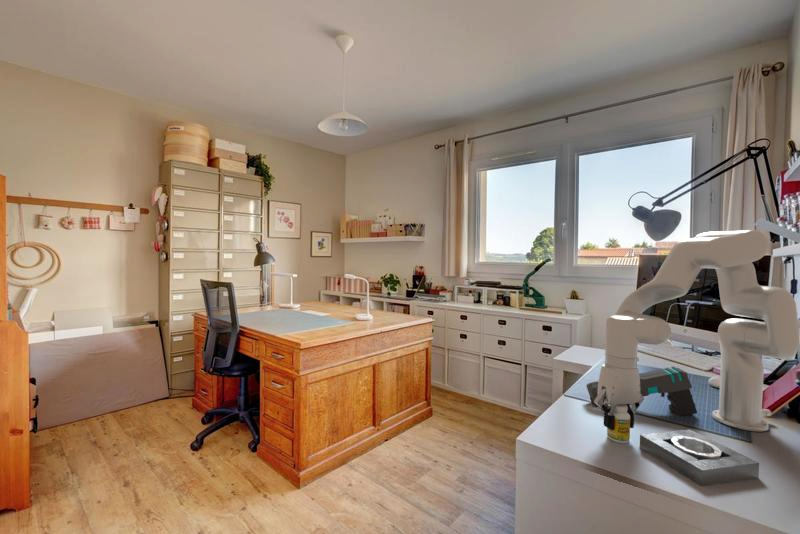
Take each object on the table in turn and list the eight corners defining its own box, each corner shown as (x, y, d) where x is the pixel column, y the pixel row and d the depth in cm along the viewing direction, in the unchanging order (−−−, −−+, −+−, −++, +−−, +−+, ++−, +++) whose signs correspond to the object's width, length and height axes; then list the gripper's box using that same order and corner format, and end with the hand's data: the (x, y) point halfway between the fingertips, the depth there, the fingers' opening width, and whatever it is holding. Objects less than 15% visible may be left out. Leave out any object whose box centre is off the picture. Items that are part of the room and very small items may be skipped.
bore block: (689, 442, 98) (690, 427, 98) (758, 477, 83) (759, 460, 82) (639, 447, 95) (640, 432, 95) (701, 485, 79) (702, 468, 79)
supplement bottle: (618, 433, 103) (619, 399, 102) (634, 442, 98) (635, 407, 97) (602, 435, 102) (603, 401, 101) (617, 444, 96) (618, 409, 96)
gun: (702, 413, 113) (686, 366, 114) (603, 431, 119) (588, 387, 120) (690, 405, 119) (675, 361, 120) (596, 422, 126) (583, 381, 126)
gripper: (635, 356, 104) (633, 418, 105) (583, 359, 101) (581, 423, 101) (659, 364, 97) (656, 430, 97) (603, 367, 93) (601, 436, 94)
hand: (618, 426), depth 99 cm, fingers closed on supplement bottle, 5 cm apart
